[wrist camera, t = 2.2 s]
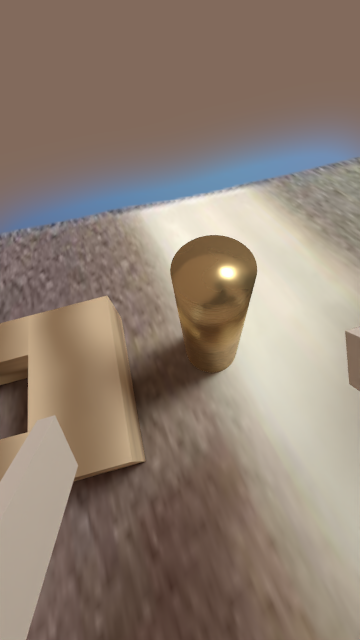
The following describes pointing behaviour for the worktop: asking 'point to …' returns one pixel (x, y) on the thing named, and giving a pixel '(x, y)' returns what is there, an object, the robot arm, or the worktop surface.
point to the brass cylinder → (212, 298)
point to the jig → (75, 383)
